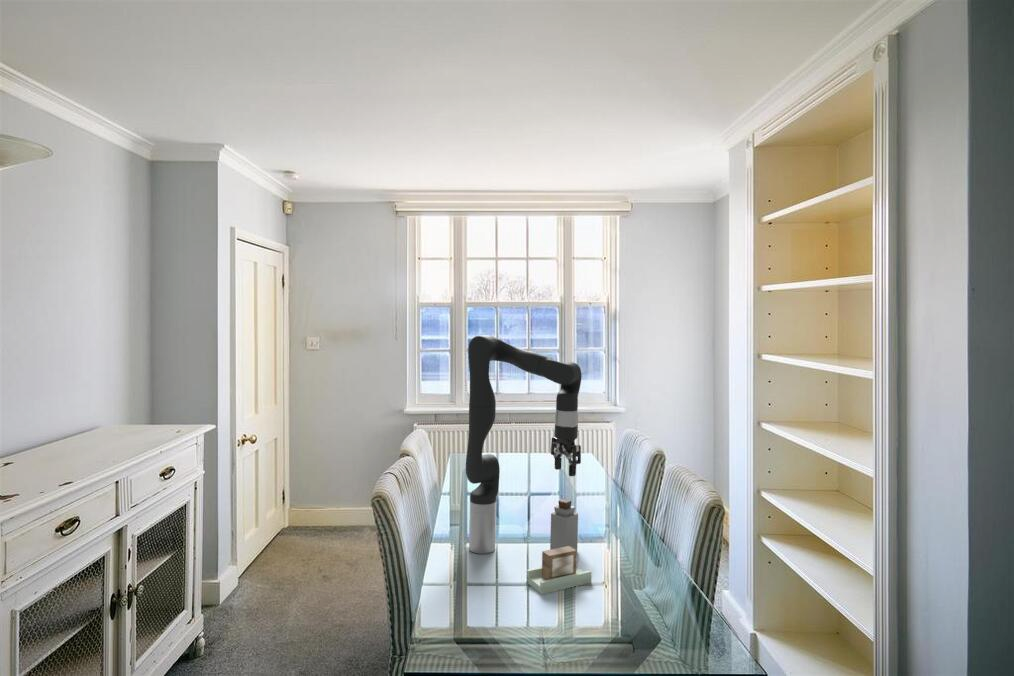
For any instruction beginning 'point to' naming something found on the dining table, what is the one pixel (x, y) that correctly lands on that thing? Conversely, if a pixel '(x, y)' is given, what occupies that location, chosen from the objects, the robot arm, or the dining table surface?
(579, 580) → the ledge
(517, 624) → the dining table surface
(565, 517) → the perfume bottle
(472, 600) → the dining table surface
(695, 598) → the dining table surface
